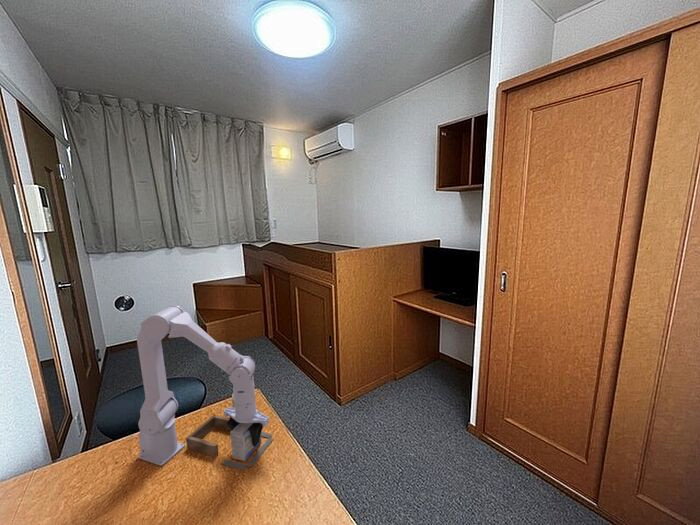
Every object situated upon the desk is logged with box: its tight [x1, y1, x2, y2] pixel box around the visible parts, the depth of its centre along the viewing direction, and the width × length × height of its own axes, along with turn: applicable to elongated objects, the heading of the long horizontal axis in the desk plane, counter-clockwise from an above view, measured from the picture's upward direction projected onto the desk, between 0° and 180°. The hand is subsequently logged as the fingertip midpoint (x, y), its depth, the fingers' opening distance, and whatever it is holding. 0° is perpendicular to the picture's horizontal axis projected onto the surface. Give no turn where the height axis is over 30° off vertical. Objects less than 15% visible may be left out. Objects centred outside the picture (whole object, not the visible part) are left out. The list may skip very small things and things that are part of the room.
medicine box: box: [229, 423, 262, 462], centre depth 89 cm, size 8×4×9 cm, turn 161°
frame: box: [221, 431, 274, 471], centre depth 89 cm, size 8×14×1 cm, turn 161°
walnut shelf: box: [185, 414, 232, 458], centre depth 93 cm, size 11×11×4 cm
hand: (248, 441), depth 89 cm, fingers open, 5 cm apart
